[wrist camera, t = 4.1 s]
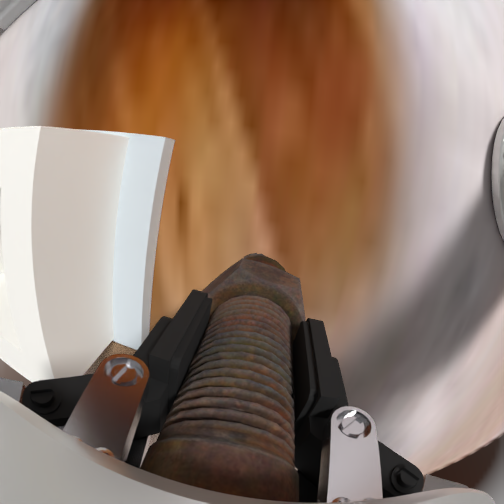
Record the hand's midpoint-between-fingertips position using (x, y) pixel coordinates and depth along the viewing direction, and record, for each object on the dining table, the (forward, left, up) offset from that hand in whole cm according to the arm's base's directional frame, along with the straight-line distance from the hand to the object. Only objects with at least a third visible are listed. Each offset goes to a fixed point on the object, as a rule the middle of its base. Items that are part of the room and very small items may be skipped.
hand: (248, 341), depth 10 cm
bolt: (0, 0, -6) cm, 6 cm away
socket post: (+16, 0, -7) cm, 17 cm away
